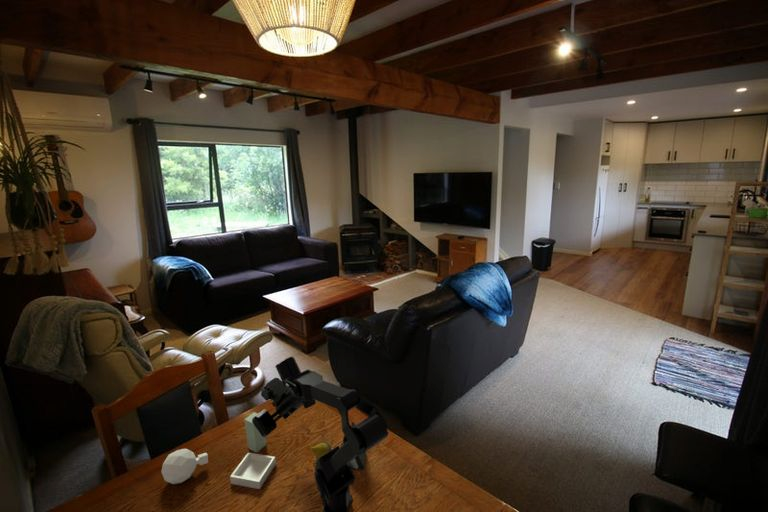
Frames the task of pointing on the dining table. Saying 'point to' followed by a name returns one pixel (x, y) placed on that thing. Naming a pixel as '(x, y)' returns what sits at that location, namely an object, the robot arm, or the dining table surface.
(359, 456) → the phone stand
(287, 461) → the dining table surface
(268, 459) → the tray
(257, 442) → the block
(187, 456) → the perfume bottle
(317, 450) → the drill bit
